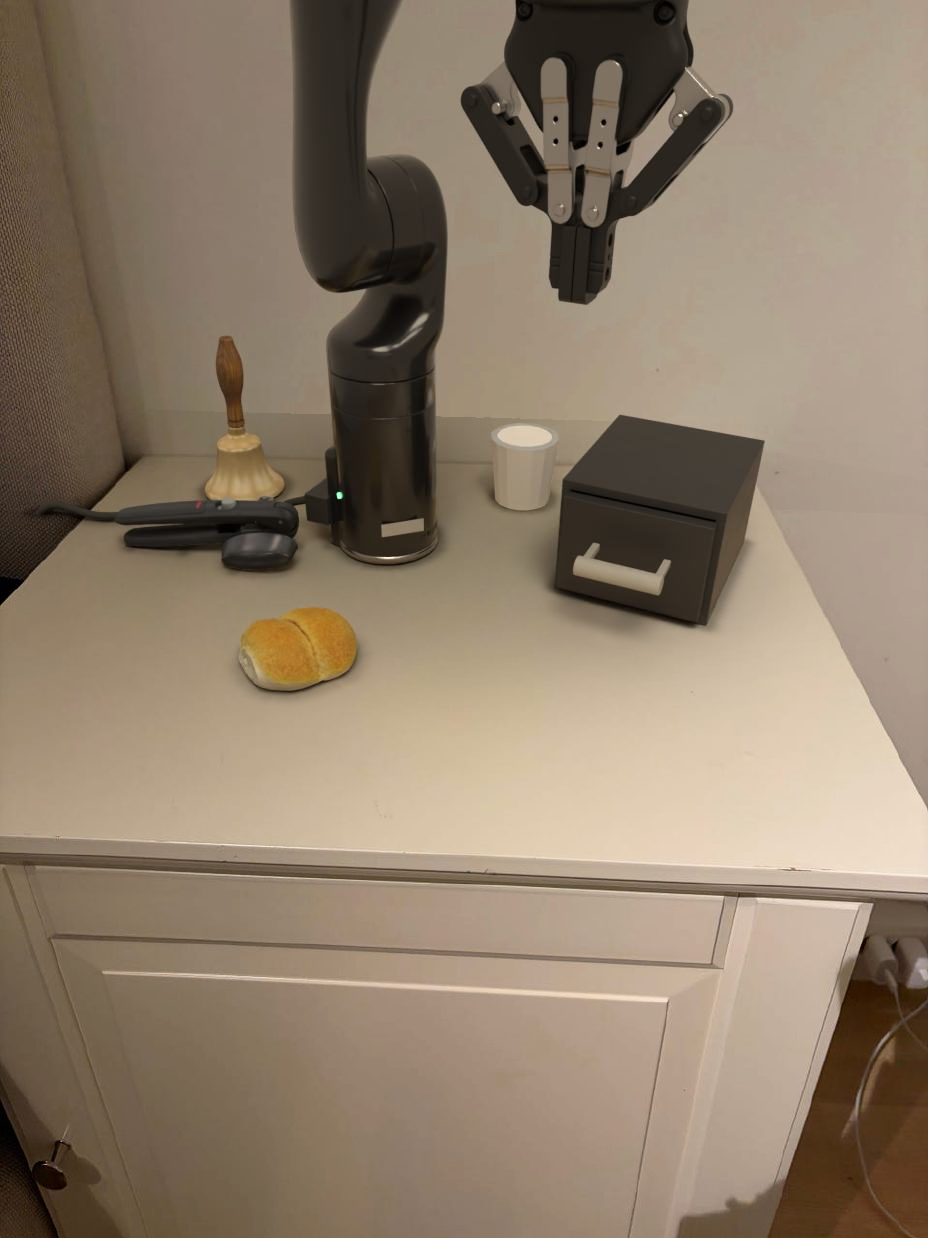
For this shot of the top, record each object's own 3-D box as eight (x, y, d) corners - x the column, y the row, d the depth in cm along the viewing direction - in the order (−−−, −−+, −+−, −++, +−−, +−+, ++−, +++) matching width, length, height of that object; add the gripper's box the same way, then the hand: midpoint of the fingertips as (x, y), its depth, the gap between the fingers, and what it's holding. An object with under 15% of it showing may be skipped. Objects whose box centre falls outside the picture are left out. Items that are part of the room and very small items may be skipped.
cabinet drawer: (683, 651, 73) (701, 555, 68) (537, 612, 78) (543, 519, 73) (734, 544, 87) (751, 457, 82) (608, 516, 92) (617, 432, 87)
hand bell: (206, 474, 101) (182, 326, 92) (284, 468, 102) (267, 322, 93) (202, 509, 94) (176, 354, 85) (286, 503, 95) (268, 349, 86)
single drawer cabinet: (706, 626, 78) (727, 513, 72) (554, 587, 83) (562, 479, 77) (743, 542, 90) (764, 440, 84) (608, 513, 94) (619, 414, 88)
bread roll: (375, 668, 73) (373, 626, 70) (268, 708, 69) (262, 664, 66) (328, 617, 78) (324, 577, 76) (226, 651, 74) (220, 610, 72)
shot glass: (550, 516, 93) (554, 452, 90) (483, 509, 95) (484, 445, 91) (558, 486, 99) (563, 424, 95) (494, 480, 100) (497, 419, 96)
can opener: (313, 541, 89) (308, 488, 86) (290, 579, 83) (284, 523, 80) (139, 524, 91) (128, 472, 88) (105, 560, 86) (92, 506, 82)
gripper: (793, -132, 38) (723, 298, 48) (499, -123, 43) (489, 267, 53) (759, -152, 33) (687, 339, 42) (424, -139, 37) (429, 301, 47)
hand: (577, 299), depth 48 cm, fingers closed
